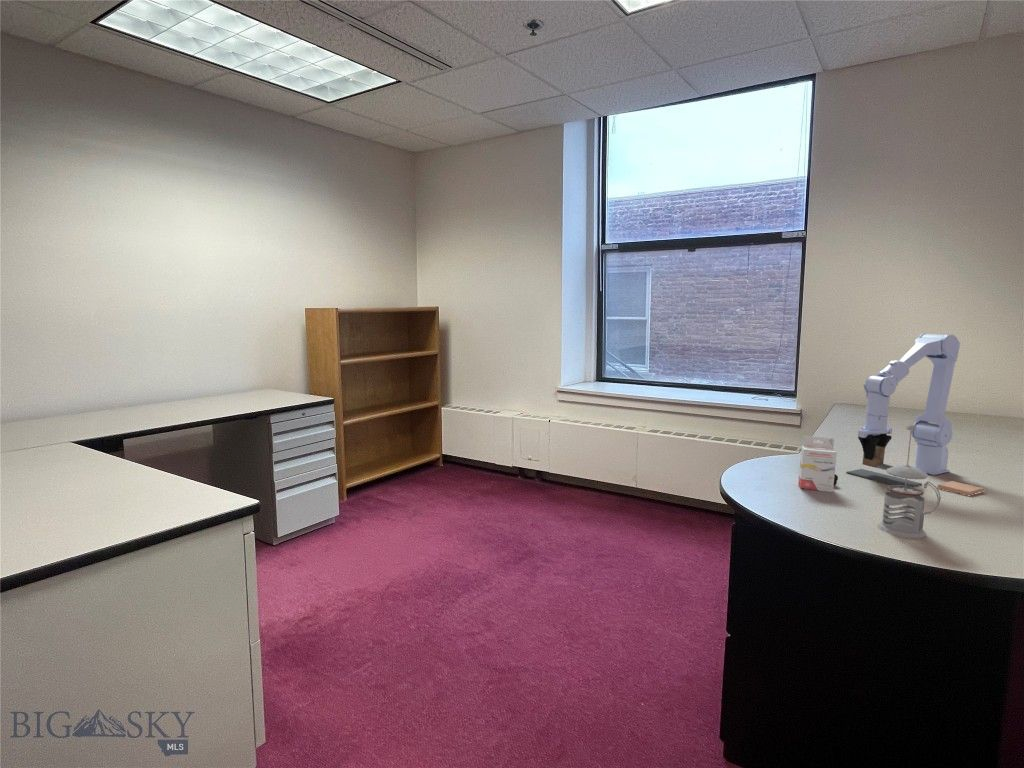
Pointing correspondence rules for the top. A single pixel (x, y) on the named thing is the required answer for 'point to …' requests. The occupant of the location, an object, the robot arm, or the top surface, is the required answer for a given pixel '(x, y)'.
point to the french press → (905, 502)
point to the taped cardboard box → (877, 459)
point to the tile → (960, 488)
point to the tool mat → (883, 478)
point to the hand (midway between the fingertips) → (872, 458)
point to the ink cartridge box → (817, 464)
